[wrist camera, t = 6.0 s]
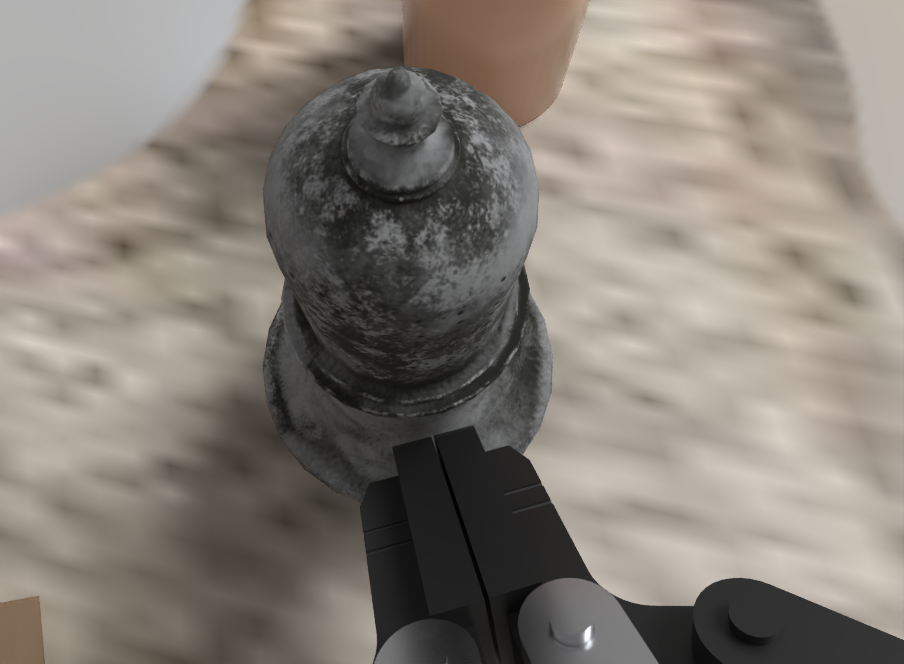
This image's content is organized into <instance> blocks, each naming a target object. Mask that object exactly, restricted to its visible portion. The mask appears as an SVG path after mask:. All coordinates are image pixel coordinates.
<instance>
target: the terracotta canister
mask: <svg viewBox="0 0 904 664" xmlns="http://www.w3.org/2000/svg"><path fill="white" fill-rule="evenodd" d="M589 3H590V0H402V14H403V49H404V66H407V67H418V68H428V69H433V70H436V71H439V72H442V73H445V74H448V75H451V76H454V77H457V78H460V79H461V80H463V81H465V82H466V83H468V84H469V85H471V86H473V87H474V88H476V89H478V90H479V91H481V92H482V93H484V94H486V95H487V96H489V97H490V98H492V99H493V100H494V101H495V102H496V103H497V104H498V105H499V106H500V107H501V108H502V109H503V110H504V111H505V112H506V113H507V114H508V115H509V116H510V117H511V118H512V119H513V120H514V121H515V123H516V124H517V126H521V125H524V124H526V123H528V122H530V121H532V120H534V119H535V118H537V117H538V116H540V115H541V114H542V113H543V112H544V111H546V110H547V109H548V108H549V107H550V105H551V104H552V103H553V102H554V100H555V99H556V97H557V95H558V94H559V92H560V89H561V87H562V84H563V81H564V78H565V75H566V72H567V69H568V66H569V63H570V60H571V57H572V54H573V51H574V48H575V45H576V42H577V39H578V36H579V33H580V30H581V27H582V24H583V21H584V18H585V15H586V12H587V9H588V6H589Z"/></svg>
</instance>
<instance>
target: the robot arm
mask: <svg viewBox="0 0 904 664" xmlns="http://www.w3.org/2000/svg"><path fill="white" fill-rule="evenodd" d="M434 440H435V446H436V449H435V446H434V443H433V440H432V437H431V436H430V437H427V438H423V439H419V440H415V441H412V442H408V443H404V444H400V445H396V446H393V447H392V450H393V454H394V459H395V463H396V467H397V472H398V476H394V477H390V478H387V479H383V480H379V481H376V482H372V483H369V485H368V488H367V490H366V493H365V496H364V498H363V501H362V504H361V506H360V511H361V518H362V526H363V532H364V541H365V548H366V554H367V564H368V571H369V579H370V586H371V594H372V602H373V609H374V617H375V624H376V632H377V649H376V655H375V658H374V662H373V664H904V640H902V639H900V638H897V637H895V636H893V635H890V634H888V633H885V632H883V631H881V630H878V629H876V628H873V627H871V626H869V625H866V624H864V623H861V622H859V621H856V620H854V619H852V618H849V617H847V616H844V615H842V614H840V613H837V612H835V611H832V610H830V609H828V608H825V607H823V606H820V605H818V604H816V603H813V602H811V601H808V600H806V599H804V598H801V597H799V596H796V595H794V594H792V593H789V592H787V591H784V590H782V589H780V588H777V587H775V586H772V585H770V584H767V583H764V582H761V581H757V580H753V579H746V578H730V579H725V580H720V581H718V582H715V583H713V584H711V585H710V586H708V587H706V588H705V589H704V590H703V591H702V592H701V593H700V595H699V596H698V598H697V599H696V602H695V605H694V606H649V605H640V604H635V603H631V602H628V601H625V600H623V599H620V598H618V597H616V596H614V595H612V594H611V593H609V592H608V591H607V590H605V589H604V588H603V587H601V586H600V585H599V584H598V583H597V582H596V581H595V580H594V578H593V577H592V576H591V574H590V573H589V571H588V569H587V567H586V566H585V564H584V562H583V560H582V558H581V556H580V554H579V552H578V550H577V549H576V547H575V545H574V543H573V541H572V539H571V537H570V535H569V533H568V532H567V530H566V528H565V526H564V524H563V522H562V520H561V518H560V516H559V515H558V513H557V511H556V509H555V507H554V505H553V504H552V503H551V500H550V498H549V496H548V494H547V492H546V490H545V488H544V486H542V484H541V481H540V479H539V477H538V475H537V473H536V471H535V469H534V467H533V465H532V464H531V462H530V460H529V459H527V458H526V457H525V456H523V455H522V454H520V453H519V452H518V451H516V450H515V449H514V448H512V447H511V446H509V445H508V446H504V447H500V448H497V449H493V450H489V451H486V452H485V450H484V448H483V445H482V443H481V441H480V439H479V436H478V434H477V432H476V429H475V428H474V426H473V425H471V426H467V427H464V428H460V429H456V430H452V431H449V432H445V433H441V434H437V435H434ZM436 450H437V452H436Z"/></svg>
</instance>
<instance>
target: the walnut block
mask: <svg viewBox="0 0 904 664" xmlns="http://www.w3.org/2000/svg"><path fill="white" fill-rule="evenodd" d="M0 664H45V660H44V648H43V637H42V625H41V614H40V602H39V596H36V597H30V598H25V599H20V600H14V601H9V602H4V603H0Z"/></svg>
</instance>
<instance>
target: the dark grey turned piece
mask: <svg viewBox="0 0 904 664" xmlns="http://www.w3.org/2000/svg"><path fill="white" fill-rule="evenodd" d="M263 196H264V212H265V222H266V233H267V238H268V241H269V243H270V246H271V248H272V250H273V253H274V255H275V258H276V260H277V263H278V265H279V267H280V270H281V271H282V273H283V275H284V277H285V281H284V287H283V292H282V298H281V299H282V303H281V305H280V307H279V309H278V311H277V313H276V315H275V318H274V320H273V322H272V324H271V326H270V328H269V333H268V338H267V344H266V350H265V356H264V361H263V372H264V382H265V392H266V402H267V405H268V408H269V410H270V413H271V415H272V418H273V420H274V423H275V425H276V428H277V430H278V433H279V435H280V438H281V439H282V441H283V442H284V443H285V444H286V446H287V447H288V448H289V450H290V451H291V452H292V453H293V455H294V456H295V457H296V459H297V460H298V461H299V463H300V464H301V465H302V466H303V468H304V469H305V470H306V471H308V472H309V473H311V474H312V475H313V476H315V477H316V478H317V479H319V480H320V481H321V482H323V483H324V484H326V485H327V486H328V487H330V488H331V489H332V490H334V491H335V492H336V493H339V494H341V495H344V496H347V497H349V498H352V499H355V500H358V501H360V502H362V501H363V498H364V496H365V493H366V490H367V488H368V485H369V483H372V482H376V481H379V480H383V479H387V478H390V477H394V476H398V472H397V467H396V463H395V459H394V454H393V450H392V447H393V446H396V445H400V444H404V443H408V442H412V441H415V440H419V439H423V438H427V437H430V436H431V437H432V440H433V443H434V446H435V440H434V435H437V434H441V433H445V432H449V431H452V430H456V429H460V428H464V427H467V426H471V425H473V426H474V428H475V429H476V432H477V434H478V436H479V439H480V441H481V443H482V445H483V448H484V450H485V452H486V451H489V450H493V449H497V448H500V447H504V446H508V445H509V446H511V447H512V448H514V449H515V450H516V451H518V452H519V453H520V454H522V455H523V453H524V452H525V450H526V449H527V447H528V445H529V444H530V442H531V441H532V439H533V438H534V436H535V435H536V433H537V431H538V430H539V428H540V427H541V424H542V420H543V417H544V414H545V411H546V407H547V404H548V401H549V398H550V395H551V391H552V362H553V354H552V349H551V345H550V341H549V337H548V333H547V328H546V324H545V320H544V318H543V316H542V314H541V312H540V311H539V309H538V307H537V305H536V303H535V301H534V299H533V298H532V296H531V294H530V288H529V283H528V279H527V274H526V270H525V265H524V263H525V260H526V258H527V255H528V252H529V249H530V246H531V243H532V240H533V238H534V235H535V232H536V229H537V219H538V200H539V190H538V179H537V174H536V170H535V166H534V162H533V158H532V153H531V149H530V148H529V146H528V144H527V142H526V140H525V139H524V137H523V135H522V133H521V132H520V130H519V128H518V126H517V124H516V123H515V121H514V120H513V119H512V118H511V117H510V116H509V115H508V114H507V113H506V112H505V111H504V110H503V109H502V108H501V107H500V106H499V105H498V104H497V103H496V102H495V101H494V100H493V99H492V98H490V97H489V96H487V95H486V94H484V93H482V92H481V91H479V90H478V89H476V88H474V87H473V86H471V85H469V84H468V83H466V82H465V81H463V80H461V79H460V78H457V77H454V76H451V75H448V74H445V73H442V72H439V71H436V70H433V69H428V68H418V67H407V66H396V67H388V68H380V69H372V70H369V71H366V72H363V73H360V74H358V75H355V76H352V77H349V78H347V79H344V80H341V81H340V82H338V83H337V84H335V85H334V86H332V87H331V88H329V89H328V90H326V91H325V92H323V93H322V94H320V95H319V96H317V97H316V98H314V99H313V100H311V101H310V102H308V103H307V104H306V105H305V106H304V107H303V108H302V110H301V111H300V112H299V113H298V114H297V115H296V116H295V117H294V118H293V119H292V120H291V121H290V123H289V124H288V125H287V126H286V127H285V128H284V130H283V132H282V134H281V136H280V138H279V140H278V142H277V144H276V146H275V148H274V150H273V151H272V153H271V155H270V158H269V163H268V168H267V173H266V178H265V183H264V188H263ZM435 449H436V446H435ZM436 452H437V450H436Z"/></svg>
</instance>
